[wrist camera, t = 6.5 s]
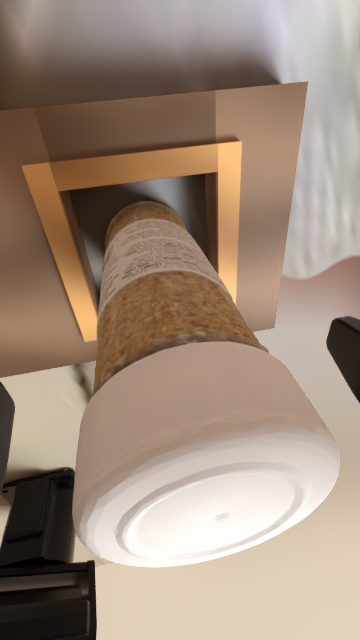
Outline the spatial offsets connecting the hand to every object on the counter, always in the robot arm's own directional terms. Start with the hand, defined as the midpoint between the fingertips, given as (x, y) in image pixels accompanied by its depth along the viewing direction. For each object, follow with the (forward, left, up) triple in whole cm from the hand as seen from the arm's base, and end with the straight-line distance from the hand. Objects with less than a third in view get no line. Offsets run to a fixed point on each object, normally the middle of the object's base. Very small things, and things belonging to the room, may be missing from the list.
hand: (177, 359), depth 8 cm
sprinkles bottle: (0, 0, -10) cm, 10 cm away
